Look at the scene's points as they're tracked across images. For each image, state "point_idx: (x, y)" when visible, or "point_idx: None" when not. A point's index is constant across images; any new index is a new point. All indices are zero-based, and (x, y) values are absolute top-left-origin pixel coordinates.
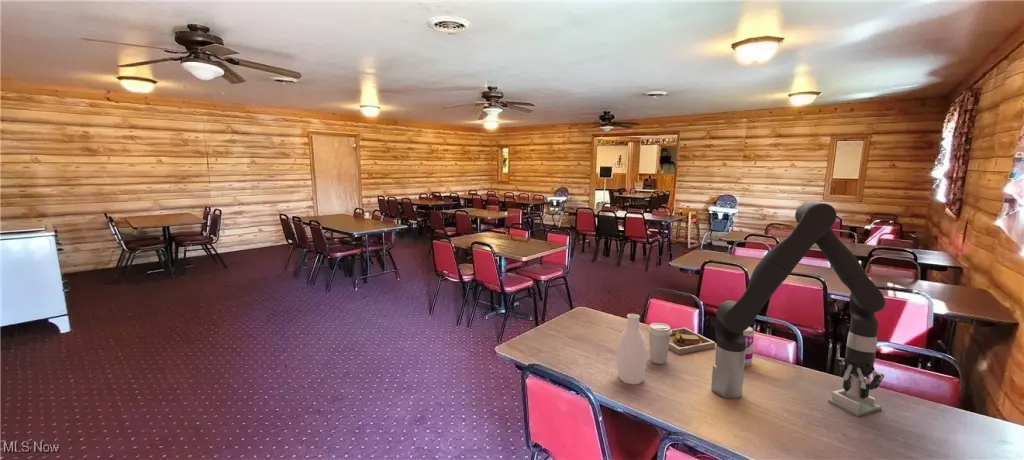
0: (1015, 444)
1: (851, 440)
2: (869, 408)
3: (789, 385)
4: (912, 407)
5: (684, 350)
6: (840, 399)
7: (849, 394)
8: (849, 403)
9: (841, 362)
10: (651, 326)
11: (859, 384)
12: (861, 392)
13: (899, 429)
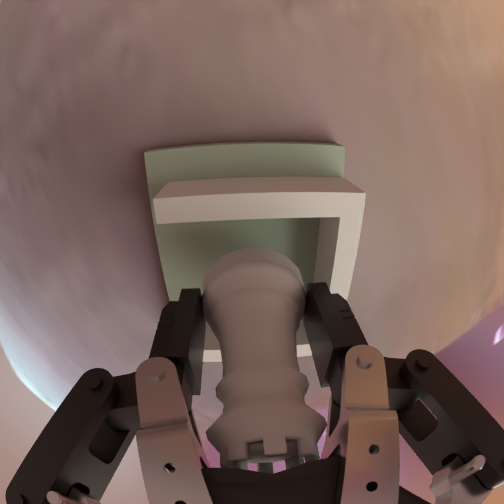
0: (42, 400)
1: None
2: (176, 284)
3: (491, 144)
4: None
5: None
6: (289, 183)
7: (267, 261)
8: (220, 186)
9: (465, 479)
10: None
11: (220, 383)
12: (186, 321)
13: (42, 248)
